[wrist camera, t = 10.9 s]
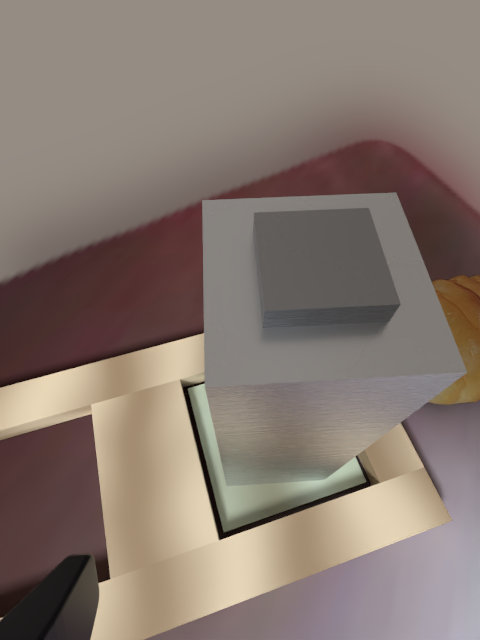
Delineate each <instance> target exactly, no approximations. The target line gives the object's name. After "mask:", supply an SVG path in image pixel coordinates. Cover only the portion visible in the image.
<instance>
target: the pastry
mask: <svg viewBox="0 0 480 640" xmlns="http://www.w3.org/2000/svg"><path fill="white" fill-rule="evenodd" d="M432 284H433V287H434V289H435V292H436V294H437V297H438V299H439V302H440V304H441V307H442V309H443V312H444V315H445V317H446V320H447V322H448V325H449V327H450V330H451V332H452V335H453V337H454V340H455V342H456V345H457V347H458V350H459V353H460V355H461V358H462V360H463V363H464V365H465V368H466V370H467V373H466V374H464V375H463V376H462V377H460V378H459V379H458V380H457V381H455V382H454V383H453V384H451V385H450V386H449V387H447V388H446V389H445V390H443V391H442V392H441V393H439V394H438V395H437V396H435V397H434V398H433V399H431V400H430V401H429V402H430V403H434V404H442V405H450V404H457V403H470V402H476V401H478V400H480V275H475V276H473V277H470V278H468V277H467V276H464V275H460V276H456V277H454V278H451V279H449V280H444V279H437V280H435V281H433V282H432Z"/></svg>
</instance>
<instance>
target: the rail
mask: <svg viewBox="0 0 480 640" xmlns="http://www.w3.org/2000/svg"><path fill="white" fill-rule="evenodd" d="M204 381H205V366H204V333H203V334H199V335H196V336H192V337H188V338H184V339H181V340H177V341H173V342H170V343H166V344H162V345H158V346H155V347H151V348H147V349H143V350H140V351H136V352H132V353H128V354H125V355H121V356H117V357H114V358H110V359H106V360H102V361H99V362H95V363H91V364H87V365H84V366H80V367H76V368H72V369H69V370H65V371H61V372H57V373H54V374H50V375H46V376H43V377H39V378H35V379H31V380H28V381H24V382H20V383H16V384H13V385H9V386H5V387H1V388H0V440H3V439H6V438H9V437H13V436H16V435H20V434H23V433H27V432H30V431H34V430H37V429H41V428H44V427H48V426H51V425H55V424H58V423H62V422H65V421H69V420H72V419H75V418H79V417H82V416H86V415H89V414H92V418H93V427H94V436H95V445H96V454H97V463H98V472H99V481H100V490H101V499H102V508H103V517H104V526H105V535H106V544H107V553H108V562H109V571H110V579H109V580H106V581H104V582H101V583H98V585H99V603H98V608H97V613H96V617H95V622H94V626H93V630H92V635H91V639H90V640H144V639H146V638H149V637H151V636H154V635H157V634H159V633H162V632H164V631H167V630H170V629H172V628H175V627H177V626H180V625H183V624H185V623H188V622H190V621H193V620H195V619H198V618H201V617H203V616H206V615H208V614H211V613H214V612H216V611H219V610H221V609H224V608H227V607H229V606H232V605H234V604H237V603H240V602H242V601H245V600H247V599H250V598H253V597H255V596H258V595H260V594H263V593H266V592H268V591H271V590H273V589H276V588H278V587H281V586H284V585H286V584H289V583H291V582H294V581H297V580H299V579H302V578H304V577H307V576H310V575H312V574H315V573H317V572H320V571H323V570H325V569H328V568H330V567H333V566H336V565H338V564H341V563H343V562H346V561H349V560H351V559H354V558H356V557H359V556H361V555H364V554H367V553H369V552H372V551H374V550H377V549H380V548H382V547H385V546H387V545H390V544H393V543H395V542H398V541H400V540H403V539H406V538H408V537H411V536H413V535H416V534H419V533H421V532H424V531H426V530H429V529H432V528H434V527H437V526H439V525H442V524H444V523H447V522H450V521H452V519H451V517H450V515H449V513H448V511H447V509H446V507H445V506H444V504H443V502H442V500H441V498H440V496H439V494H438V492H437V490H436V488H435V487H434V485H433V483H432V481H431V479H430V477H429V475H428V473H427V471H426V470H425V468H424V466H423V464H422V462H421V460H420V458H419V456H418V454H417V453H416V451H415V449H414V447H413V445H412V443H411V441H410V439H409V437H408V436H407V434H406V432H405V430H404V428H403V426H402V424H401V423H399V424H398V425H397V426H395V427H394V428H393V429H391V430H390V431H389V432H387V433H386V434H385V435H383V436H382V437H381V438H379V439H378V440H377V441H375V442H374V443H373V444H371V445H370V446H369V447H368V448H366V449H365V450H364V451H362V452H361V453H360V454H358V457H359V459H360V461H361V463H362V465H363V468H364V470H365V472H366V474H367V477H368V479H369V481H370V483H371V485H372V486H370V487H368V488H365V489H362V490H359V491H356V492H353V493H351V494H348V495H345V496H342V497H339V498H337V499H334V500H331V501H328V502H325V503H323V504H320V505H317V506H314V507H311V508H309V509H306V510H303V511H300V512H297V513H295V514H292V515H289V516H286V517H283V518H281V519H278V520H275V521H272V522H269V523H266V524H264V525H261V526H258V527H255V528H252V529H250V530H247V531H244V532H241V533H238V534H236V535H233V536H230V537H227V538H224V539H222V540H220V538H219V534H218V530H217V526H216V522H215V518H214V514H213V509H212V505H211V501H210V497H209V493H208V489H207V485H206V481H205V477H204V473H203V469H202V464H201V460H200V456H199V452H198V448H197V444H196V440H195V436H194V432H193V428H192V424H191V419H190V415H189V411H188V407H187V403H186V399H185V395H184V391H183V387H187V386H190V385H194V384H197V383H201V382H204ZM188 392H189V396H190V400H191V404H192V408H193V412H194V416H195V420H196V424H197V428H198V432H199V436H200V440H201V444H202V448H203V452H204V456H205V460H206V464H207V468H208V472H209V476H210V480H211V484H212V488H213V492H214V496H215V500H216V504H217V508H218V512H219V516H220V520H221V523H222V527H223V531H224V532H227V531H230V530H233V529H236V528H238V527H241V526H244V525H247V524H250V523H253V522H255V521H258V520H261V519H264V518H267V517H270V516H272V515H275V514H278V513H281V512H284V511H286V510H289V509H292V508H295V507H298V506H301V505H303V504H306V503H309V502H312V501H315V500H318V499H320V498H323V497H326V496H329V495H332V494H335V493H337V492H340V491H343V490H346V489H349V488H352V487H354V486H357V485H360V484H363V483H365V482H366V479H365V477H364V475H363V473H362V470H361V468H360V466H359V464H358V461H357V459H356V457H354V458H353V459H352V460H350V461H349V462H348V463H346V464H345V465H344V466H342V467H341V468H340V469H338V470H337V471H336V472H334V473H333V474H332V475H330V476H329V477H328V478H326V479H325V480H318V481H302V482H287V483H271V484H256V485H240V486H227V485H226V480H225V476H224V471H223V467H222V462H221V458H220V453H219V449H218V444H217V440H216V435H215V431H214V426H213V422H212V417H211V413H210V408H209V404H208V399H207V395H206V390H205V384H202V385H198V386H195V387H191V388H188ZM1 619H2V618H0V620H1Z"/></svg>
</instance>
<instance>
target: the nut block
mask: <svg viewBox="0 0 480 640" xmlns="http://www.w3.org/2000/svg"><path fill="white" fill-rule="evenodd" d="M202 206H203V286H204V366H205V390H206V395H207V399H208V404H209V408H210V413H211V417H212V422H213V426H214V431H215V435H216V440H217V444H218V449H219V453H220V458H221V462H222V467H223V471H224V476H225V480H226V485H227V486H240V485H256V484H271V483H287V482H302V481H318V480H325V479H326V478H328V477H329V476H330V475H332V474H333V473H334V472H336V471H337V470H338V469H340V468H341V467H342V466H344V465H345V464H346V463H348V462H349V461H350V460H352V459H353V458H354V457H356V456H357V455H358V454H360V453H361V452H362V451H364V450H365V449H366V448H368V447H369V446H370V445H371V444H373V443H374V442H375V441H377V440H378V439H379V438H381V437H382V436H383V435H385V434H386V433H387V432H389V431H390V430H391V429H393V428H394V427H395V426H397V425H398V424H399V423H401V422H402V421H403V420H405V419H406V418H407V417H409V416H410V415H411V414H413V413H414V412H415V411H417V410H418V409H419V408H421V407H422V406H423V405H425V404H426V403H427V402H429V401H430V400H431V399H433V398H434V397H435V396H437V395H438V394H439V393H441V392H442V391H443V390H445V389H446V388H447V387H449V386H450V385H451V384H453V383H454V382H455V381H457V380H458V379H459V378H460V377H462V376H463V375H464V374H466V373H467V370H466V368H465V365H464V363H463V360H462V358H461V355H460V353H459V350H458V347H457V345H456V342H455V340H454V337H453V335H452V332H451V330H450V327H449V325H448V322H447V320H446V317H445V315H444V312H443V309H442V307H441V304H440V302H439V299H438V297H437V294H436V292H435V289H434V287H433V284H432V282H431V279H430V277H429V274H428V272H427V269H426V266H425V264H424V261H423V259H422V256H421V254H420V251H419V249H418V246H417V244H416V241H415V239H414V236H413V234H412V231H411V228H410V226H409V223H408V221H407V218H406V216H405V213H404V211H403V208H402V206H401V203H400V201H399V198H398V196H397V193H372V194H347V195H322V196H298V197H273V198H249V199H224V200H202Z"/></svg>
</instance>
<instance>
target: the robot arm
mask: <svg viewBox="0 0 480 640" xmlns="http://www.w3.org/2000/svg"><path fill="white" fill-rule="evenodd" d="M98 603H99V585H98V578H97V572H96V565H95V560H94V557H93V555H92V554H89V553H86V554H72V555H69V556H68V557H66V558H65V559H64V560H63V561H62V562H61V563H60V564H59V565H58V566H56V567H55V568H54V569H53V570H52V571H51V572H50V573H49V574H48V575H47V576H46V577H45V578H44V579H43V580H42V581H41V582H40V583H39V584H38V585H37V586H36V587H35V588H34V589H33V590H31V591H30V592H29V593H28V594H27V595H26V596H25V597H24V598H23V599H22V600H21V601H20V602H19V603H18V604H17V605H16V606H15V607H14V608H13V609H12V610H11V611H10V612H9V613H7V614H6V615H5V616H4V617H3V618H2V619H1V620H0V640H90V639H91V635H92V630H93V626H94V622H95V617H96V613H97V608H98Z"/></svg>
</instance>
